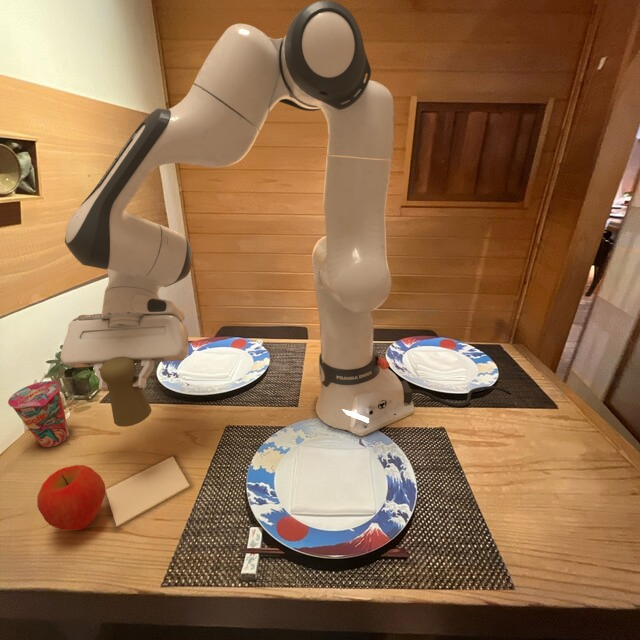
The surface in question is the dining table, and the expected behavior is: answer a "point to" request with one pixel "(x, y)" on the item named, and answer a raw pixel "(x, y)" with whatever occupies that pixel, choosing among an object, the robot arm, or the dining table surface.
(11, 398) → the cup
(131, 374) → the pepper shaker
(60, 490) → the apple
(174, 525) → the dining table surface
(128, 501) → the napkin
